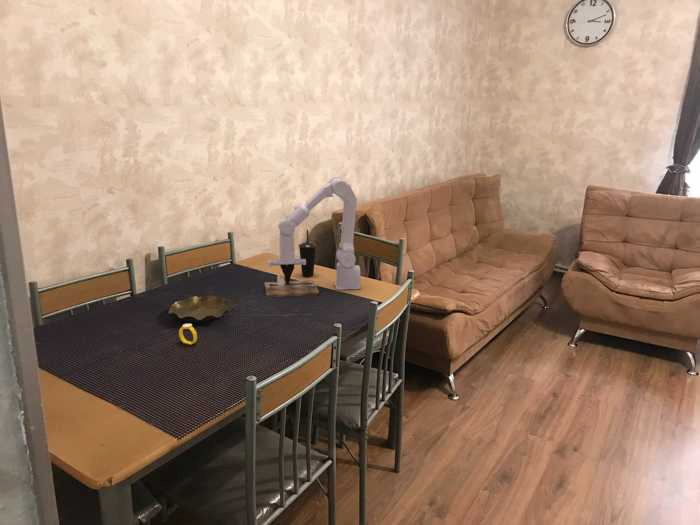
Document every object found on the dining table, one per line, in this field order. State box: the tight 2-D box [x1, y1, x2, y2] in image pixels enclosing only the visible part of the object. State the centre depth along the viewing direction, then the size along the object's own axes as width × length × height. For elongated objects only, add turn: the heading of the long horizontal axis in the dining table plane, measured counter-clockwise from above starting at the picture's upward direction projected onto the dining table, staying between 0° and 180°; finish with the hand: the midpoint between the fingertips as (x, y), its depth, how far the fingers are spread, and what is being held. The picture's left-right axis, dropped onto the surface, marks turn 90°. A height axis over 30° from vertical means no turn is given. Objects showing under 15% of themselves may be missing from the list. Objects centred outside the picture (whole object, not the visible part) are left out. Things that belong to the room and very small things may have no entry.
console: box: [264, 279, 320, 298], centre depth 218 cm, size 20×16×2 cm
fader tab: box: [276, 274, 285, 286], centre depth 217 cm, size 3×4×4 cm
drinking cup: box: [298, 229, 317, 278], centre depth 235 cm, size 8×8×20 cm
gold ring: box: [178, 323, 198, 345], centre depth 166 cm, size 6×3×6 cm, turn 64°
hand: (287, 282), depth 218 cm, fingers closed
